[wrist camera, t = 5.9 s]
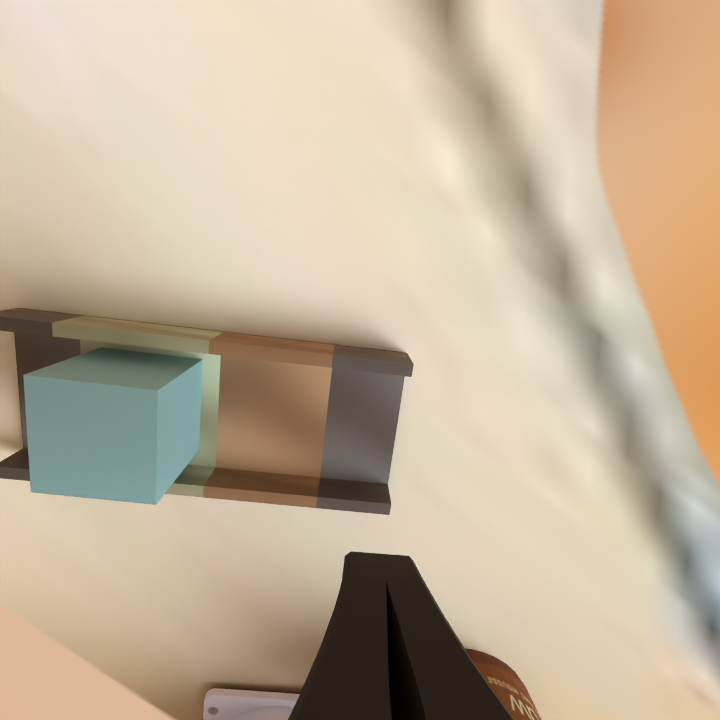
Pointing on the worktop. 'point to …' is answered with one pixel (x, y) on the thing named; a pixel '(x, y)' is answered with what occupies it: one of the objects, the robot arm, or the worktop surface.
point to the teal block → (112, 424)
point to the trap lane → (251, 408)
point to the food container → (505, 686)
